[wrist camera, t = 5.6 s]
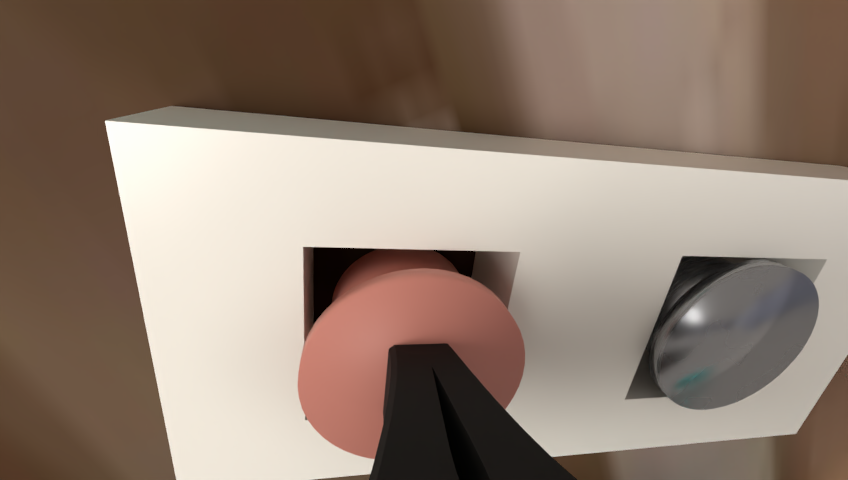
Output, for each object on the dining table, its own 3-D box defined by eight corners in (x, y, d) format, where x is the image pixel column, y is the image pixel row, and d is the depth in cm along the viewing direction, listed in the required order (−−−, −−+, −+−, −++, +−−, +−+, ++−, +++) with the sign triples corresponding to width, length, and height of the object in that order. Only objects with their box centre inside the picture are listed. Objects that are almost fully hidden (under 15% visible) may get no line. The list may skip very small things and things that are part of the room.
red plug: (497, 227, 11) (547, 280, 8) (469, 370, 13) (502, 451, 10) (309, 220, 10) (295, 278, 7) (310, 377, 12) (299, 469, 9)
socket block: (840, 165, 14) (955, 188, 12) (729, 379, 18) (795, 433, 15) (171, 105, 10) (104, 120, 7) (212, 407, 14) (178, 491, 11)
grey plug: (750, 228, 14) (850, 268, 11) (696, 346, 16) (769, 405, 13) (624, 223, 13) (700, 265, 10) (583, 349, 15) (636, 414, 12)
